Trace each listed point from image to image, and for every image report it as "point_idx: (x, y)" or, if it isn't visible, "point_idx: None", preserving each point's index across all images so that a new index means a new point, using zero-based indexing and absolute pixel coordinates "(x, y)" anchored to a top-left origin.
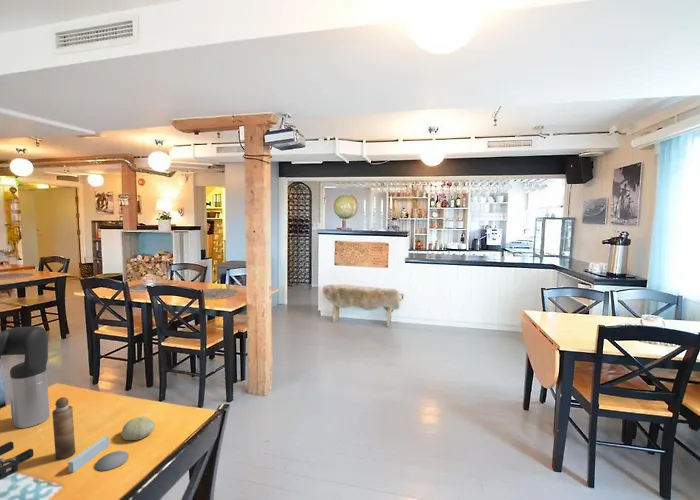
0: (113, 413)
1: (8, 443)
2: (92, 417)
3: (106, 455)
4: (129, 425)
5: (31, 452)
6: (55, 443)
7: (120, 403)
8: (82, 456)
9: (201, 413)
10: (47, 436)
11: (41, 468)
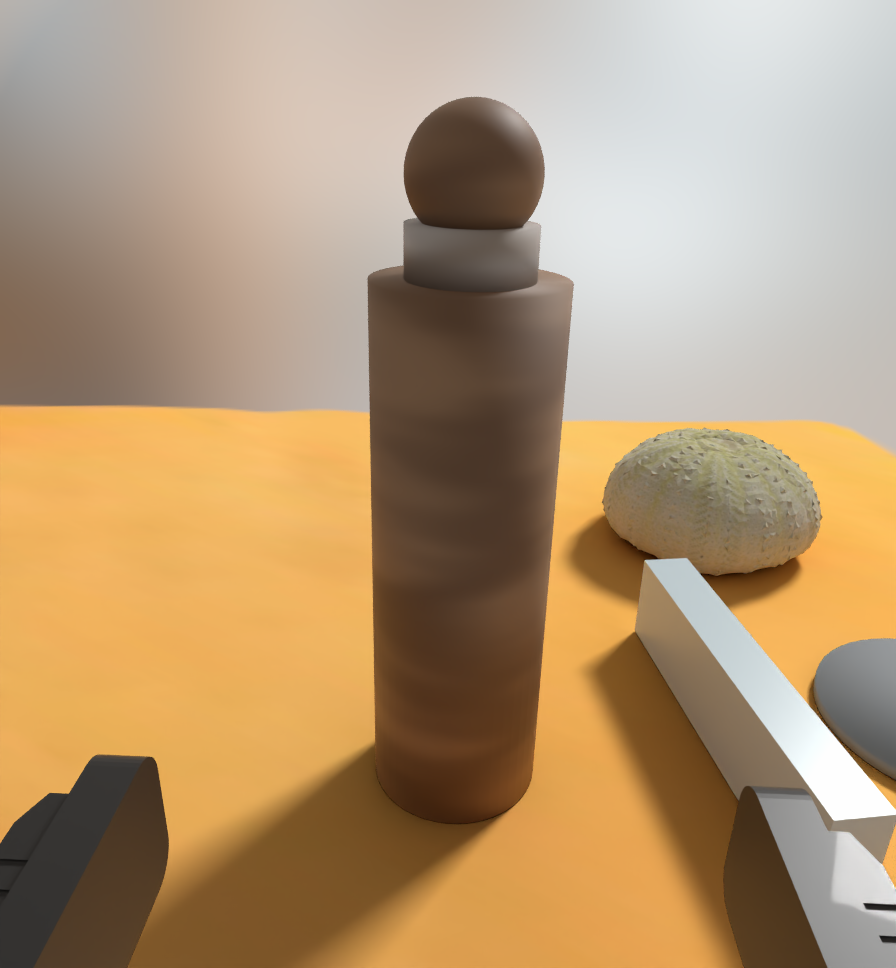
0: (311, 471)
1: (116, 797)
2: (202, 504)
3: (829, 690)
4: (721, 473)
5: (854, 847)
6: (446, 672)
7: (260, 430)
8: (827, 735)
9: (797, 421)
10: (17, 660)
11: (443, 963)
